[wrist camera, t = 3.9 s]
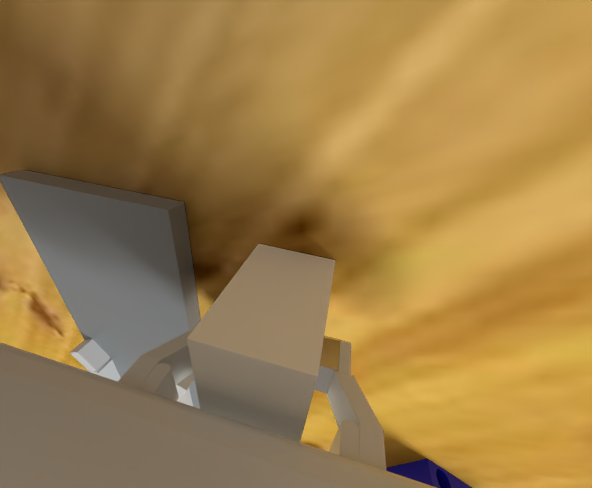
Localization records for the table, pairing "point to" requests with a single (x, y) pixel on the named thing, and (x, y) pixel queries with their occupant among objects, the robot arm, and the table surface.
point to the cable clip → (428, 474)
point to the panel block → (264, 341)
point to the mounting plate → (112, 266)
